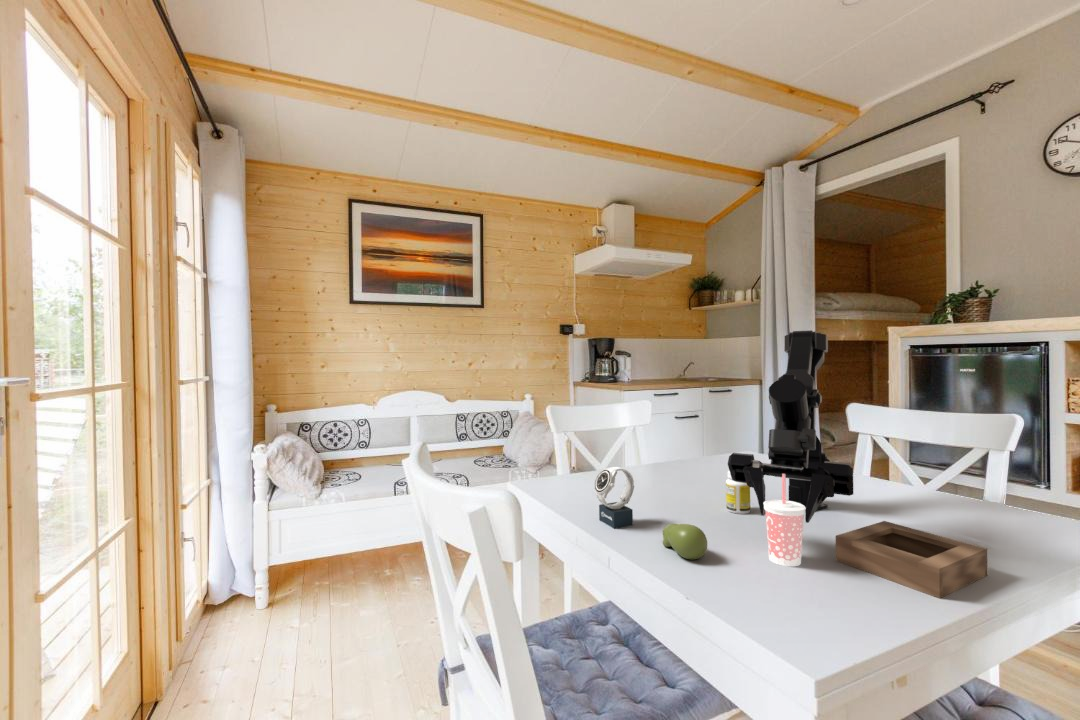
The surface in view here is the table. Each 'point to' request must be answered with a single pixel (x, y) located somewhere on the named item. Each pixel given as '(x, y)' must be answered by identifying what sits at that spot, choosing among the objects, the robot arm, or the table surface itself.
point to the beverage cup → (784, 529)
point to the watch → (616, 511)
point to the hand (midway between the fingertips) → (784, 517)
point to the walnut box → (912, 557)
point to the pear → (685, 540)
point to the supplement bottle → (737, 496)
